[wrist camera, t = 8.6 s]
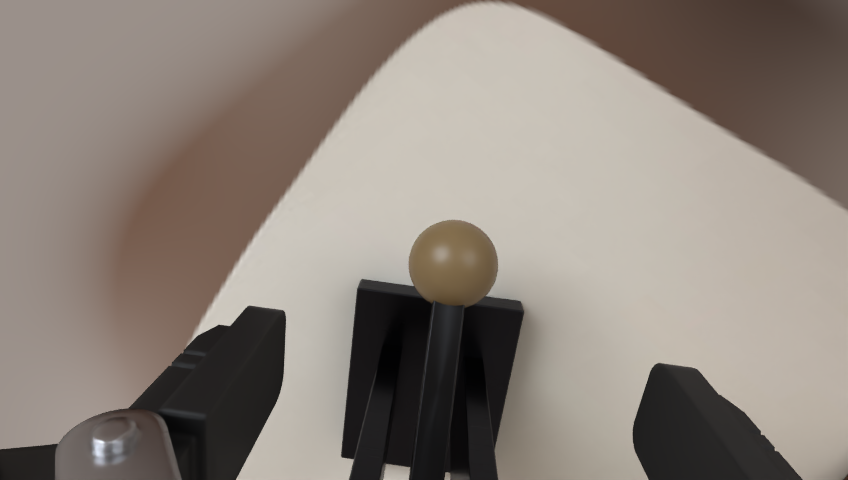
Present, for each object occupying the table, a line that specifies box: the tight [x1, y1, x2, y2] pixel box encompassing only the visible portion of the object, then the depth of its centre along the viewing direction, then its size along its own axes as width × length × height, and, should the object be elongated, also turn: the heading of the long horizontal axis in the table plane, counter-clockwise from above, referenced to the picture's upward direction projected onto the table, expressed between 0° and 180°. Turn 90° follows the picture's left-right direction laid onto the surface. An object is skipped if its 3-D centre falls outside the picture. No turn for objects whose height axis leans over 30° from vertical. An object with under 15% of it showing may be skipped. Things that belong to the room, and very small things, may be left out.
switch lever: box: [409, 220, 498, 480], centre depth 17 cm, size 13×3×3 cm, turn 173°
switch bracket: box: [341, 279, 524, 480], centre depth 20 cm, size 10×8×13 cm
